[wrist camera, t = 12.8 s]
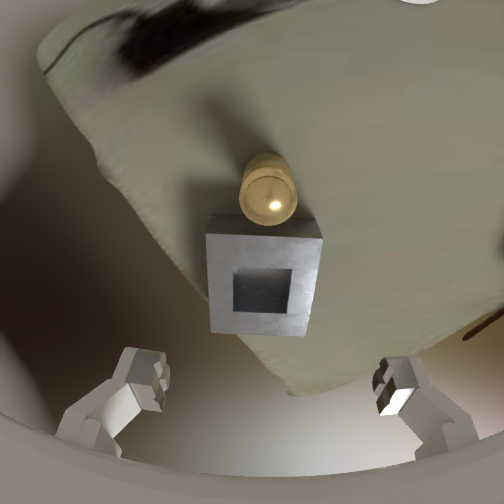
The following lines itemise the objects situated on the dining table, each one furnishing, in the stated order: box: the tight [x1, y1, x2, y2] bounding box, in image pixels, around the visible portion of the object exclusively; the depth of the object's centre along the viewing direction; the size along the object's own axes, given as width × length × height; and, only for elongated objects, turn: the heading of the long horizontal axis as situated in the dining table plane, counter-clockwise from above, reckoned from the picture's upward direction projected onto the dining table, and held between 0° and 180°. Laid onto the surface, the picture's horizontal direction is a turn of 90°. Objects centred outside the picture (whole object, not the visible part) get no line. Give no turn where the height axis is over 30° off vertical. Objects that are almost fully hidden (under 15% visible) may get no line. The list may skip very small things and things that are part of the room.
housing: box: [206, 214, 323, 336], centre depth 37 cm, size 14×12×5 cm
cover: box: [239, 152, 298, 226], centre depth 29 cm, size 5×5×9 cm
